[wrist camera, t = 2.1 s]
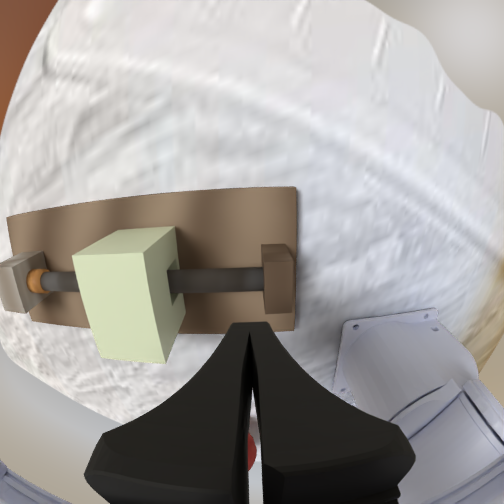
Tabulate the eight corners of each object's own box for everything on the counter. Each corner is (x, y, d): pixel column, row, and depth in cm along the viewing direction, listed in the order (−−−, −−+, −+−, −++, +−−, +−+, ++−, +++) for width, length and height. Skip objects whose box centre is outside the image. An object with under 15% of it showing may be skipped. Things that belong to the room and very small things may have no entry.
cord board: (293, 186, 17) (310, 193, 13) (292, 323, 20) (303, 365, 15) (13, 215, 17) (-25, 228, 12) (37, 316, 20) (9, 342, 15)
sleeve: (174, 226, 17) (143, 252, 11) (185, 312, 18) (165, 363, 13) (118, 230, 17) (71, 255, 11) (133, 311, 18) (101, 357, 13)
